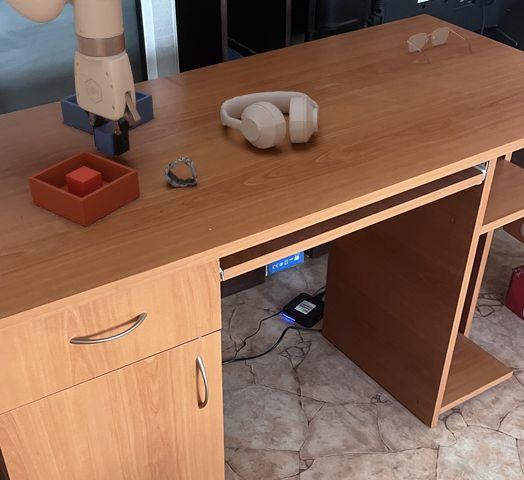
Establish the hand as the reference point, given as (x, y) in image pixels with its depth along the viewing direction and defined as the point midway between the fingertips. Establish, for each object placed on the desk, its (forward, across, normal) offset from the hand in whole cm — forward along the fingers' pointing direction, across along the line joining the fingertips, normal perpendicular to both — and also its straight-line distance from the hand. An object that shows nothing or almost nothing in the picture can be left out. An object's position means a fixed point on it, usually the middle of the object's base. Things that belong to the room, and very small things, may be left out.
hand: (112, 148), depth 138 cm
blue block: (0, 0, 0) cm, 0 cm away
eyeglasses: (+1, +21, +83) cm, 86 cm away
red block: (+2, +6, -13) cm, 14 cm away
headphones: (+2, +15, +26) cm, 31 cm away
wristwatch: (+2, +15, 0) cm, 16 cm away
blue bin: (+2, -13, +11) cm, 17 cm away
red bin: (+2, +6, -13) cm, 14 cm away
